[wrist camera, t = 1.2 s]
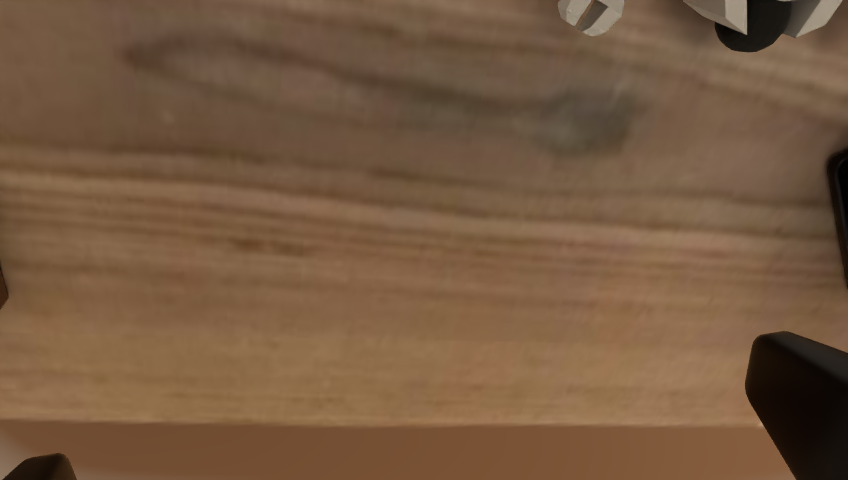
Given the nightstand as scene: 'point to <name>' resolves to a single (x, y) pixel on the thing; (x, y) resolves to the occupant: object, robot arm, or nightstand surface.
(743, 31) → the robot toy
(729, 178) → the nightstand surface
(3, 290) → the base block
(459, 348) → the nightstand surface
